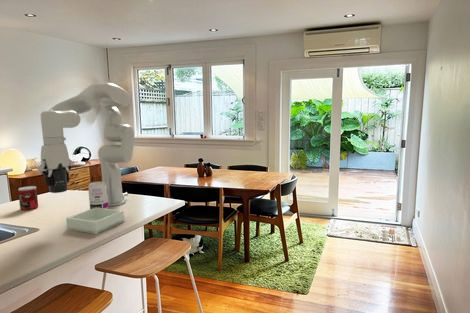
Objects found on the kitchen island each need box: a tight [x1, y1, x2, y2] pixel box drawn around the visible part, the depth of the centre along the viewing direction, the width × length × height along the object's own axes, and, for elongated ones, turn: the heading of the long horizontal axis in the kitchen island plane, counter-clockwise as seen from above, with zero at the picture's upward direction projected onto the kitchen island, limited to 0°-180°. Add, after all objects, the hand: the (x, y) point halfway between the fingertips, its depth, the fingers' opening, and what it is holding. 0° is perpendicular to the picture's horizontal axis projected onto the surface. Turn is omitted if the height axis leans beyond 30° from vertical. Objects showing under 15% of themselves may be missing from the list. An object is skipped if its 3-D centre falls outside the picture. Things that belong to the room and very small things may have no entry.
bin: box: [65, 207, 125, 235], centre depth 139 cm, size 16×16×5 cm
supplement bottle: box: [48, 163, 69, 194], centre depth 135 cm, size 7×7×12 cm
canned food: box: [17, 185, 39, 212], centre depth 166 cm, size 8×8×11 cm
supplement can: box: [87, 180, 109, 210], centre depth 156 cm, size 8×8×15 cm
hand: (58, 183), depth 135 cm, fingers closed on supplement bottle, 6 cm apart
